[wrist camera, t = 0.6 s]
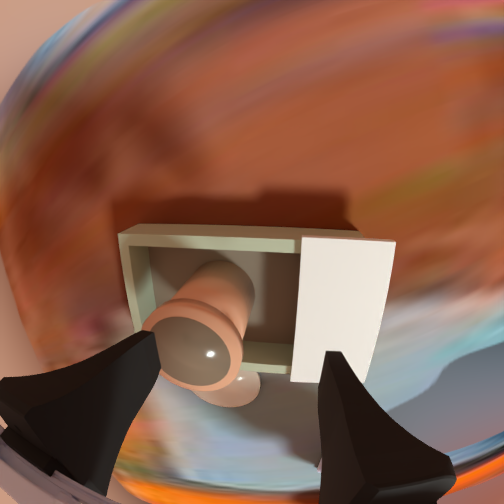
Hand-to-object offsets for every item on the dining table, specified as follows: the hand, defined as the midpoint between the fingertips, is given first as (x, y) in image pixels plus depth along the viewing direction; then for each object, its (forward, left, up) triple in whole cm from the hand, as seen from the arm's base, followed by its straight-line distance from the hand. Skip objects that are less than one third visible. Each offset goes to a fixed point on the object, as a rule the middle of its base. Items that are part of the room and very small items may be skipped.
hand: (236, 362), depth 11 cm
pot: (-2, +3, -10) cm, 10 cm away
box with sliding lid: (-2, +2, -10) cm, 10 cm away
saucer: (-11, +4, -10) cm, 15 cm away
